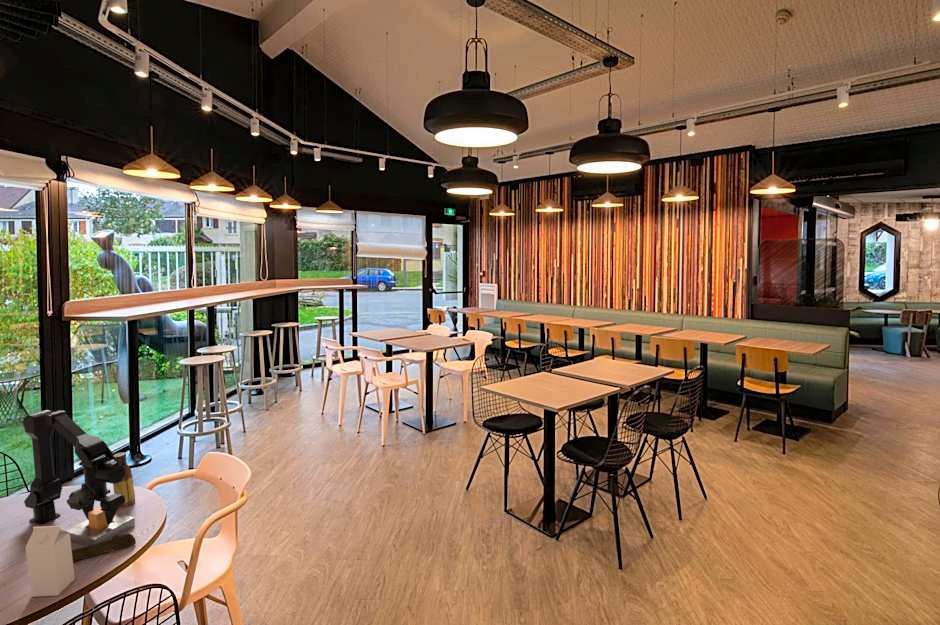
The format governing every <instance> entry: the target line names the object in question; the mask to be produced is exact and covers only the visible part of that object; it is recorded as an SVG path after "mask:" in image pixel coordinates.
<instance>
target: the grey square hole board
mask: <svg viewBox="0 0 940 625" xmlns="http://www.w3.org/2000/svg"><path fill="white" fill-rule="evenodd" d="M134 525H135V526H136V523H135V517H134V516H130V515H129V516H128V515H125V514H120V513H117V512H116V514H115V516H114V518H113V521H112V523H111V524H109V525H107V526H105V527H103V528H101V529H100V530H98V531H97V530H93V529H90V528H89V520H88V519H87V518H86V519H85V520H84V521H81V522H80V523H78V524H75V525H73V526H72V527H70V528H68V529H65V531H67V532H70V540H71V543H75V542H76V544H78V543H79V545H83V546H85V547H86V546H90V545H93V544H97V543H101V542H105V541H108V540H112V538H113V537H115V536H117V535H122V533H123V534H124V533H125V532H126V531H128V530H130V529H131V528H134V527H135V526H134Z"/></svg>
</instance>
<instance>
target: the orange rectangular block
mask: <svg viewBox="0 0 940 625" xmlns="http://www.w3.org/2000/svg"><path fill="white" fill-rule="evenodd" d="M100 509H102V508H101V507H100V506H99V507H97V508H95V509H94V508H93V510H92V511H90V512H88V518H89V528H90V529H93V530H97V531H98V530H100V529H101V528H103V527H105V526H107V525H108V524H107V521H106V516H105V512H104V511H102V510H100Z"/></svg>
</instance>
